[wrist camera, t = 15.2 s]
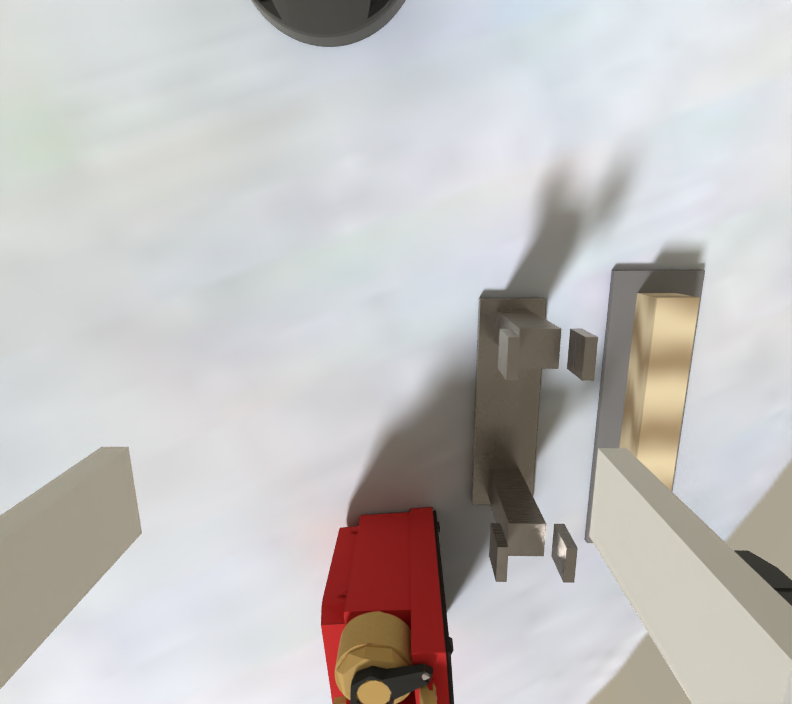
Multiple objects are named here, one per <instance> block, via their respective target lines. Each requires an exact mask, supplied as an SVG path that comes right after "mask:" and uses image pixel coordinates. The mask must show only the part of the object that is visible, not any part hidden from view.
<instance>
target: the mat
mask: <svg viewBox="0 0 792 704" xmlns="http://www.w3.org/2000/svg"><path fill="white" fill-rule="evenodd" d="M704 274H705V270H612V274H611V284H610V294H609V304H608V313H607V323H606V333H605V343H604V353H603V363H602V373H601V383H600V393H599V402H598V412H597V422H596V432H595V442H594V452H593V462H592V472H591V482H590V491H589V501H588V511H587V521H586V531H585V541H586V542H587V543H593V541H592V540H591V538H590V537H589V534H590V524H591V514H592V504H593V495H594V485H595V475H596V465H597V455H598V448H619V447H620V438H621V429H622V421H623V412H624V403H625V395H626V386H627V377H628V368H629V360H630V351H631V342H632V334H633V325H634V316H635V308H636V299H637V293H679V294H684V295H689V296H694V297H699V298H700V300H699V306H698V313H697V320H696V327H695V334H696V328H697V321H698V314H699V307H700V301H701V294H702V287H703V280H704ZM695 334H694V340H693V347H692V354H691V361H690V368H691V362H692V355H693V348H694V341H695ZM690 368H689V374H688V381H687V388H686V395H687V389H688V382H689V375H690ZM686 395H685V402H686ZM685 402H684V408H683V415H682V422H681V429H682V423H683V416H684V409H685ZM681 429H680V436H681ZM680 436H679V442H678V449H677V456H678V450H679V443H680ZM677 456H676V463H677ZM676 463H675V470H676ZM675 470H674V476H673V483H674V477H675ZM673 483H672V490H673ZM672 490H671V491H672Z"/></svg>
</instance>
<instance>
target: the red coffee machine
mask: <svg viewBox="0 0 792 704" xmlns="http://www.w3.org/2000/svg"><path fill="white" fill-rule="evenodd" d="M439 531H440V526H439V522H438V521H437V517H436V511H433V508H432V507H429V508H414V509H410V512H404V513H390V514H375V515H360V520H359V526H358V527H344V528H340V529H339V533H338V537H337V541H336V546H335V550H334V554H333V558H332V562H331V566H330V571H329V575H328V579H327V583H326V587H325V591H324V595H323V601H322V611H321V628H322V635H323V642H324V648H325V655H326V662H327V669H328V676H329V682H330V689H331V696H332V703H333V704H454V696H453V681H452V666H451V654H452V652H453V642H452V638H450V637H449V633H448V623H447V614H446V604H445V594H444V585H443V575H442V565H441V556H440V546H439V536H438V533H439Z"/></svg>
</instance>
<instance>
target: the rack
mask: <svg viewBox="0 0 792 704" xmlns="http://www.w3.org/2000/svg"><path fill="white" fill-rule="evenodd" d="M545 311H546V299H545V298H479V311H478V340H477V368H476V397H475V425H474V454H473V482H472V503H473V505H491V507H492V510H493V513H494V516H495V520H496V523H491V527H490V549H489V557H490V561H491V565H492V568H493V572H494V576H495V580H496V582H506V581H507V564H508V556H544V544H545V531H546V523H545V521H544V518H543V516H542V514H541V512H540V510H539V508H538V506H537V504H536V502H535V500H534V498H533V484H534V469H535V455H536V440H537V426H538V412H539V397H540V383H541V369H558V365H559V352H560V339H561V328H559V327H557V326H556V325H554V324H552V323H551V322H549V321H547V320H545ZM597 342H598V337H597V336H595V335H593V334H591V333H589V332H587V331H585V330H583V329H570V339H569V351H568V363H567V369H568V370H569V371H571V372H572V373H573V374H574V375H576V376H577V377H578V378H579V379H581V380H593V381H594V373H595V363H596V353H597ZM552 558H553V560H554V563H555V565H556V567H557V569H558V571H559V574H560V576H561V578H562V580H563V582H574V578H575V568H576V558H577V546H576V544H575V543H574V541H573V539H572V537H571V535H570V534H569V532H568V530H567V528H566V526H565V524H554V533H553V545H552Z"/></svg>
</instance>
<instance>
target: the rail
mask: <svg viewBox="0 0 792 704" xmlns="http://www.w3.org/2000/svg"><path fill="white" fill-rule="evenodd" d="M699 300H700V298H699V297H694V296H689V295H684V294H679V293H637V299H636V308H635V316H634V325H633V334H632V342H631V351H630V360H629V368H628V377H627V386H626V395H625V403H624V412H623V421H622V429H621V438H620V447H619V448H627V449H628V450H629V451H630V452H631V453H632V454H633V455H634V456H635V457H636V458H637V459H638V460H639V461H640V462H641V463H642V464H643V465H644V466H646V467H647V468H648V469H649V470H650V471H651V472H652V473H653V474H654V475H655V476H656V477H657V478H658V479H659V480H660V481H661V482H662V483H663V484H664V485H665V486H666V487H668V488H669V489H670V490H672V483H673V476H674V470H675V463H676V456H677V449H678V442H679V436H680V429H681V422H682V415H683V408H684V402H685V395H686V388H687V381H688V374H689V368H690V361H691V354H692V347H693V340H694V334H695V327H696V320H697V313H698V306H699Z"/></svg>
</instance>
